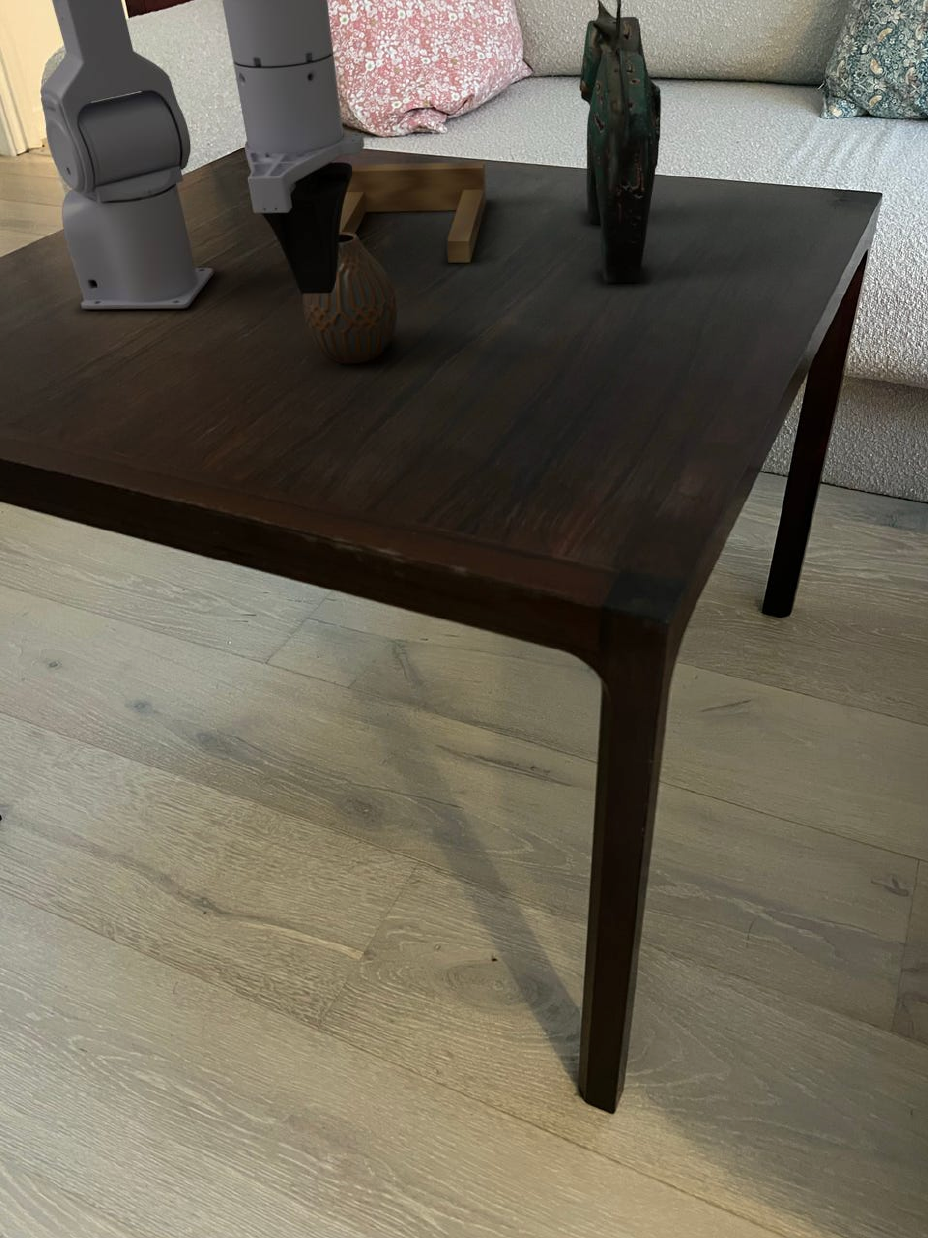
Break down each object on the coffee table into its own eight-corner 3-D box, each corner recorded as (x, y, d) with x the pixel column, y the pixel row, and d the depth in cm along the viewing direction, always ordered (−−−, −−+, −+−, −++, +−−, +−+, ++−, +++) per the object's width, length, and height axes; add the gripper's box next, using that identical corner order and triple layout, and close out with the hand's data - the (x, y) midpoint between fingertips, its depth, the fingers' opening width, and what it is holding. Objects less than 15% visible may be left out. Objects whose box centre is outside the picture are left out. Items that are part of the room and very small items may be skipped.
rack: (317, 264, 92) (310, 219, 90) (350, 205, 104) (345, 164, 102) (470, 262, 91) (468, 217, 88) (486, 203, 103) (484, 161, 100)
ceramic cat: (575, 209, 100) (579, -30, 87) (642, 206, 100) (655, -34, 87) (587, 288, 85) (594, 14, 72) (665, 286, 84) (686, 9, 72)
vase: (365, 380, 74) (350, 261, 68) (292, 361, 77) (272, 246, 71) (418, 342, 78) (408, 228, 73) (347, 326, 81) (332, 215, 76)
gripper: (325, 85, 52) (357, 336, 60) (374, 27, 63) (395, 247, 71) (192, 89, 53) (243, 337, 61) (263, 32, 64) (298, 249, 72)
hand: (318, 289), depth 66 cm, fingers closed
